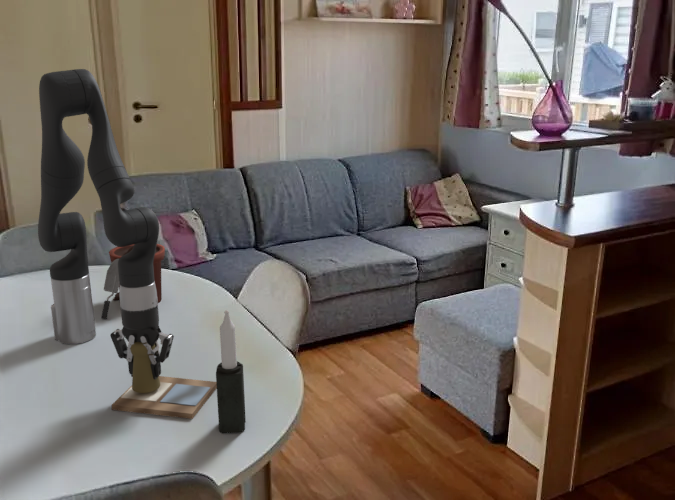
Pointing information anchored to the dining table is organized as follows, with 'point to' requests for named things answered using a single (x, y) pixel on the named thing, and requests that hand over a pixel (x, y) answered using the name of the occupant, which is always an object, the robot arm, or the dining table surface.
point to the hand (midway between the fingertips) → (145, 376)
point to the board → (168, 398)
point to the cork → (142, 370)
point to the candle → (230, 382)
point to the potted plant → (113, 275)
